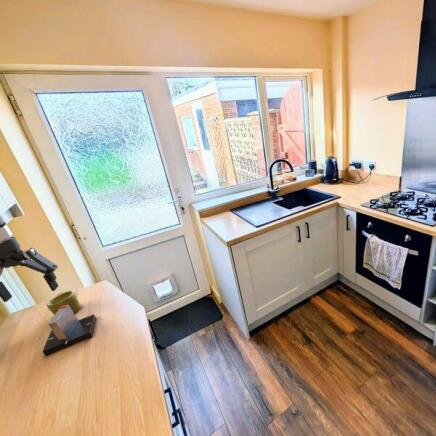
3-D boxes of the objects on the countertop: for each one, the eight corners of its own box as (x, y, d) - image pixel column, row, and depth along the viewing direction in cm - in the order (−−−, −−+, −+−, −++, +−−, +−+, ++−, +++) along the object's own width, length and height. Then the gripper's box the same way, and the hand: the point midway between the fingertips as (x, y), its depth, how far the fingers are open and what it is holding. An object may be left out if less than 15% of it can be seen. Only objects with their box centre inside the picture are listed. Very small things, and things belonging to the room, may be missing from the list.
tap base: (44, 358, 87) (40, 353, 86) (55, 332, 97) (51, 328, 96) (92, 339, 93) (89, 334, 92) (97, 316, 103) (94, 312, 102)
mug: (84, 308, 106) (65, 292, 102) (59, 326, 102) (38, 310, 98) (89, 297, 116) (72, 282, 112) (66, 313, 113) (48, 298, 109)
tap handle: (67, 339, 90) (55, 321, 86) (60, 341, 90) (47, 323, 86) (79, 321, 98) (68, 304, 94) (72, 323, 98) (60, 306, 94)
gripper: (51, 227, 83) (78, 278, 92) (-44, 244, 77) (-5, 296, 86) (38, 237, 77) (69, 290, 85) (-67, 256, 70) (-22, 311, 79)
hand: (32, 293), depth 86 cm, fingers open, 13 cm apart
